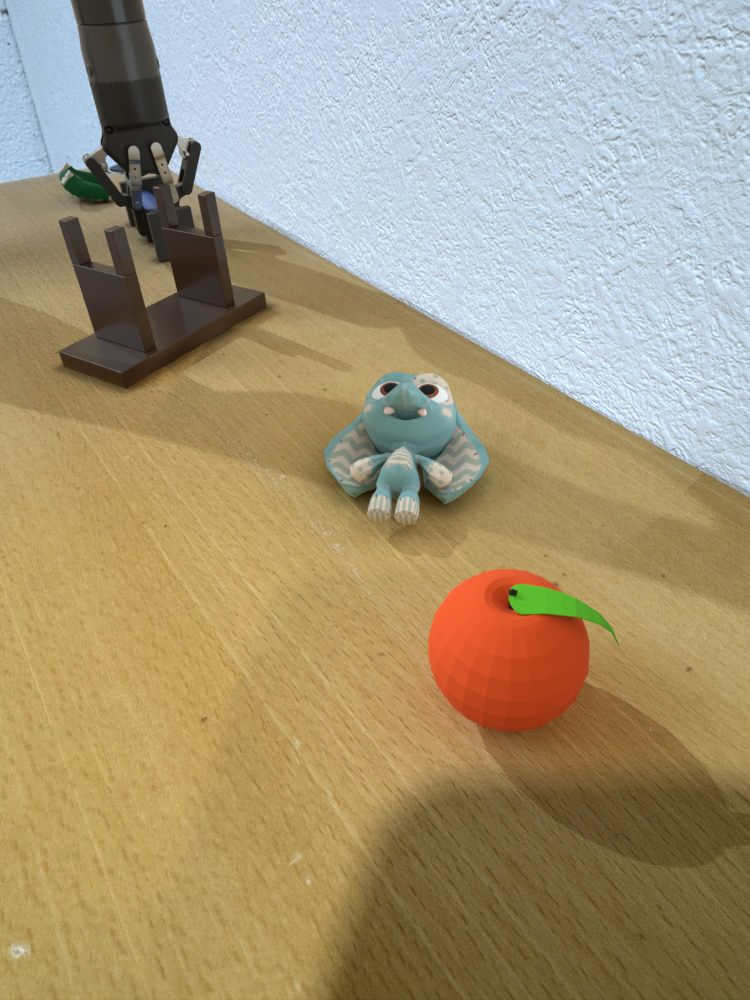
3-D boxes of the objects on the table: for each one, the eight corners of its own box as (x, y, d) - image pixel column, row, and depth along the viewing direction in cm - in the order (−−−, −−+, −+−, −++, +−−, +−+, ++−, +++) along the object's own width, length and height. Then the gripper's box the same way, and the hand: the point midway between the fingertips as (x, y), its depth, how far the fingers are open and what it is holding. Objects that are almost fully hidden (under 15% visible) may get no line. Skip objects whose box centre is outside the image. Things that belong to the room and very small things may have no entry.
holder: (126, 388, 57) (82, 247, 49) (63, 366, 60) (14, 231, 53) (267, 306, 68) (248, 182, 61) (207, 292, 72) (183, 172, 64)
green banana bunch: (92, 200, 106) (54, 175, 102) (105, 179, 105) (66, 153, 101) (99, 217, 99) (58, 191, 95) (113, 194, 98) (72, 167, 94)
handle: (129, 224, 90) (118, 181, 87) (166, 217, 92) (156, 175, 89) (159, 262, 79) (147, 215, 76) (200, 253, 81) (190, 207, 77)
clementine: (596, 647, 34) (621, 541, 30) (608, 777, 29) (642, 673, 25) (434, 631, 36) (436, 527, 31) (419, 753, 30) (418, 649, 26)
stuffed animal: (290, 465, 38) (333, 332, 46) (309, 543, 44) (345, 412, 51) (488, 479, 36) (498, 337, 44) (482, 558, 42) (492, 420, 49)
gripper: (179, 62, 79) (208, 217, 90) (51, 76, 75) (99, 238, 86) (197, 69, 74) (226, 233, 85) (61, 85, 70) (110, 256, 80)
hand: (162, 235), depth 85 cm, fingers closed on handle, 2 cm apart
